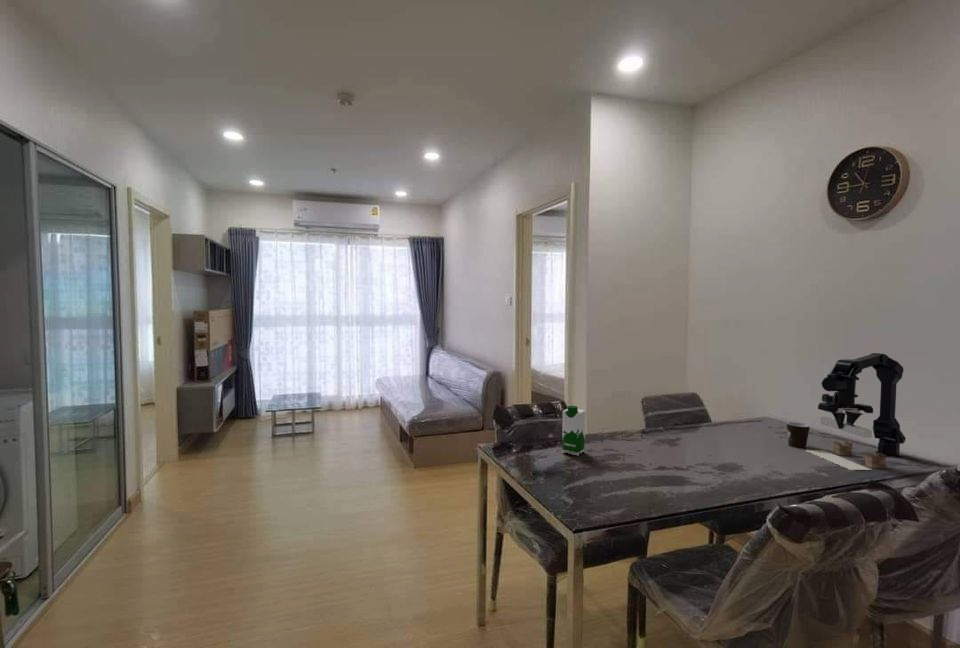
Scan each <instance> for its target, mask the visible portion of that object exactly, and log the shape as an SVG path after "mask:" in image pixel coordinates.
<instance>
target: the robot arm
mask: <svg viewBox="0 0 960 648" xmlns="http://www.w3.org/2000/svg"><path fill="white" fill-rule="evenodd" d="M871 367H872V368H873V369H874V371H875V375H876V378H877V379H878V380H879V382H880V396H879V416H878V417H877V418H876V419H873V425H872V430H873V431H872V432H873V434H874V435H873V436H874V439H878V443H877V450H875V453H876V454H877V453H881V454H884V455H886V457H888V456H903V455H901V454H900V449H901V447H900V445H901V444H904V443H905V442H906V440H907V439H906V437H905V435H904V434H903V432H902V431H901V425H900V423H899V421H898V420H897V418H896V407H897V406H896V405H897V404H896V403H897V385H898V382H899V381H901V379H902V378H903V375H904V374H903V373H904V367H903V365H901V364H900V362H899V361H897V360H896V359H893V358H891V357H889V355H888V354H885V353H880V352H878V353H877V352H872V353H870V354H868V355H864V356H861V357H860V356H859V357H857V358H853V359H849V358H848V359H845V358H844V359H838V360H837V361H836V362H835V364H834V365H833V368H832V369H831V371H830V372H829V374H827V375H826V377H824V378H823V380H822V381H821V387H822V388H823V390H825V391H826V392H834V393H833V395H830V394H829V393H824V394H822V395H821V402H819V403H818V406H817V409H818V410H821V411H824V412H828V413H831V414H832V415H833V417H834V419H835V420H836V422H837V425H838V428H839V429H842V427H843V423H844V422H845V419H846V423H849V424H853V425H855V423H856V421H857V420H858V419H859V418H860V417H861V416H863V415H864V413H865V414H874V407H873V406H872V405H868V404H864V403H855V402H856V401H855V400H856V398H858V397H859V395H858V394H856V387H857V386H856V385H857V381H859V380H860V378H859V376H858V375H859V374H861V373H862V372H863V370H864V369H867V368H871ZM861 411H862V412H863V413H862V412H861Z"/></svg>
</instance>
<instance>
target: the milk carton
mask: <svg viewBox="0 0 960 648" xmlns="http://www.w3.org/2000/svg"><path fill="white" fill-rule="evenodd" d="M586 412H587V410H586V409H578V406H575V405H567V408H565V409H564V410H562V432H561V433H562V437H561V438H562V439H561V441H562V442H561V443H562V448H561V449H564V450H569V451H574V452H580V451H581V450H583V449H584V450H585V442H586V416H587V415H586Z"/></svg>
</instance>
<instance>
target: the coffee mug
mask: <svg viewBox="0 0 960 648" xmlns="http://www.w3.org/2000/svg"><path fill="white" fill-rule="evenodd" d="M810 427H811V425H810V424H807V423H803V422H796V421H789V422H786V431H787V433H786V434H787V441H788V446H789V447H791V448H794V447H795V449H801V448H804V449H806V448H807V443H808V438H809V431H810Z"/></svg>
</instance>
